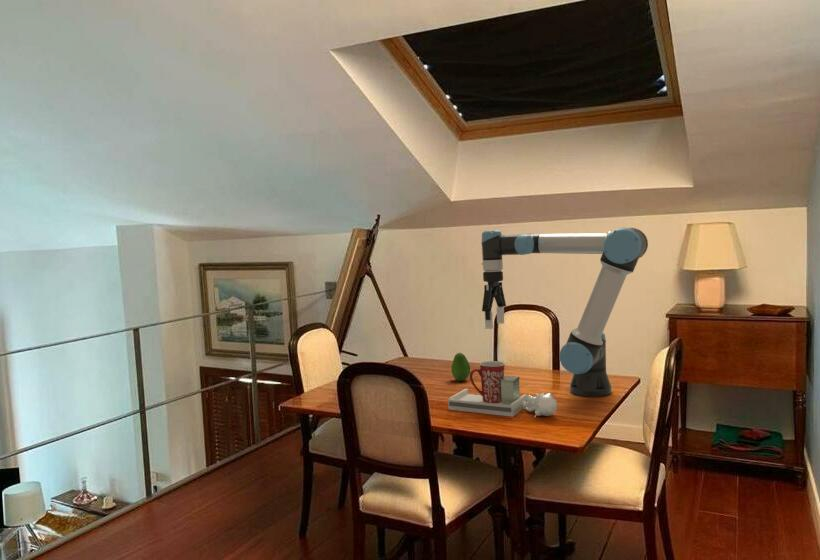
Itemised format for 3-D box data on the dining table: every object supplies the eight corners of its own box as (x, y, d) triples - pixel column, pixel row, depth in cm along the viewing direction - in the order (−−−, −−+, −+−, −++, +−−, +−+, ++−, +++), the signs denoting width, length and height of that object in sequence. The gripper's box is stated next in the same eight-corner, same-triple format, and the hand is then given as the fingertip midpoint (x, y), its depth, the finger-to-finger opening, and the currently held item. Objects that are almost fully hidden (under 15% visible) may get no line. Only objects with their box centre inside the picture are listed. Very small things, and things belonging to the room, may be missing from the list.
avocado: (450, 382, 257) (449, 354, 256) (452, 378, 265) (451, 351, 264) (470, 382, 256) (468, 354, 255) (471, 378, 264) (470, 350, 263)
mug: (503, 396, 224) (501, 360, 223) (508, 403, 215) (507, 365, 214) (468, 398, 224) (467, 362, 223) (472, 405, 215) (471, 367, 214)
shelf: (527, 405, 219) (527, 394, 219) (512, 416, 206) (512, 405, 206) (465, 399, 231) (465, 388, 231) (448, 409, 218) (447, 398, 218)
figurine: (529, 384, 216) (552, 385, 202) (544, 397, 218) (567, 399, 203) (513, 408, 213) (535, 411, 199) (528, 422, 214) (551, 425, 200)
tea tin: (520, 402, 216) (519, 376, 215) (514, 406, 211) (513, 380, 210) (507, 401, 218) (507, 375, 218) (501, 405, 213) (500, 379, 212)
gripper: (494, 269, 249) (496, 321, 250) (471, 273, 226) (474, 330, 228) (512, 268, 245) (514, 321, 247) (491, 273, 223) (493, 331, 224)
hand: (495, 326), depth 237 cm, fingers open, 13 cm apart
